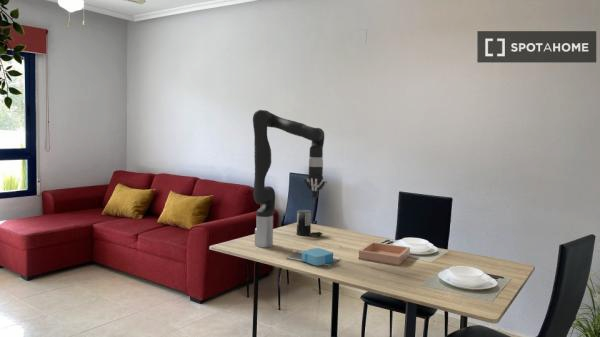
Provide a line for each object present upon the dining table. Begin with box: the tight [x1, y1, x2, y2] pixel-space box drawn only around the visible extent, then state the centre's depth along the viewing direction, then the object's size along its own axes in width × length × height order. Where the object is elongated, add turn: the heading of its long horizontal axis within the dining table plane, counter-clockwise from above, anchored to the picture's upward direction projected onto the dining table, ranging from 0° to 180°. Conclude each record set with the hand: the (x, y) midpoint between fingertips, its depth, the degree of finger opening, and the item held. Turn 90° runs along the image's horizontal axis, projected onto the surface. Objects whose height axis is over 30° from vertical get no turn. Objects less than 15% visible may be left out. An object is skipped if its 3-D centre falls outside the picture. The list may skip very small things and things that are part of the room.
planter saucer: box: [358, 241, 411, 266], centre depth 235 cm, size 21×20×4 cm
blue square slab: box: [301, 247, 334, 267], centre depth 224 cm, size 12×4×12 cm
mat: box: [286, 251, 341, 268], centre depth 229 cm, size 24×12×1 cm, turn 62°
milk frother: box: [296, 209, 324, 237], centre depth 278 cm, size 14×16×15 cm
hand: (315, 197), depth 242 cm, fingers closed
